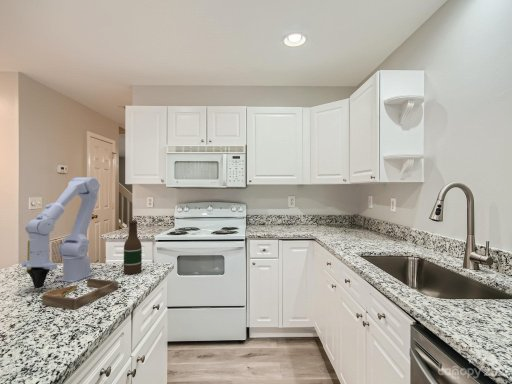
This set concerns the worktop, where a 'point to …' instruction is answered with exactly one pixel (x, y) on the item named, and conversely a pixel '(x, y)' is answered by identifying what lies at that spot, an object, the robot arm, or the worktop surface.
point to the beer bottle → (132, 251)
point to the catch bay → (74, 304)
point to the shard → (61, 291)
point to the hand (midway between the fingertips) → (38, 287)
